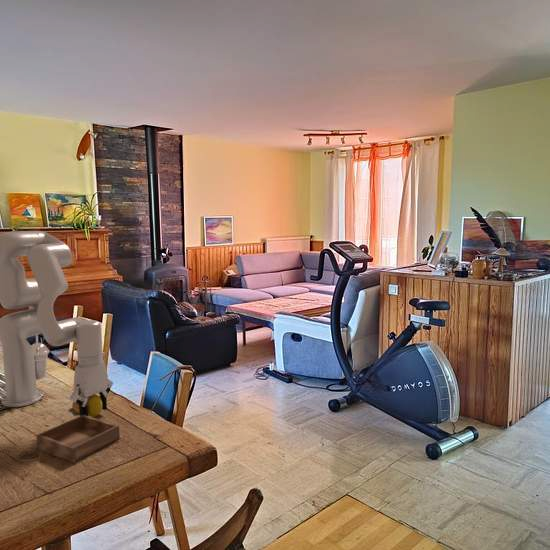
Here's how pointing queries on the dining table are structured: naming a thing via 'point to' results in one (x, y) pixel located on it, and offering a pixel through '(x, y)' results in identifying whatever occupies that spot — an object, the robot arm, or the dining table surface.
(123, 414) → the dining table surface
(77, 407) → the bread roll
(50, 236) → the robot arm
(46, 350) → the cup with straw
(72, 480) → the dining table surface
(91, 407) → the lemon
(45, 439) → the bin
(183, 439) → the dining table surface
